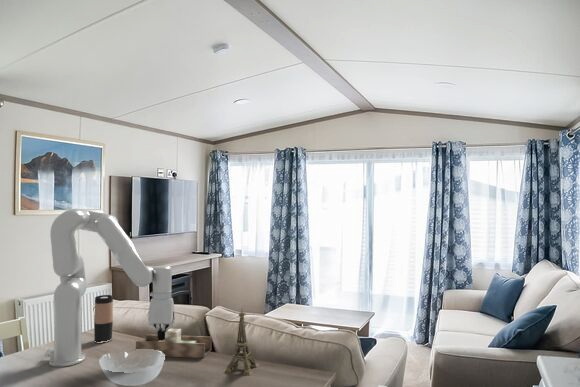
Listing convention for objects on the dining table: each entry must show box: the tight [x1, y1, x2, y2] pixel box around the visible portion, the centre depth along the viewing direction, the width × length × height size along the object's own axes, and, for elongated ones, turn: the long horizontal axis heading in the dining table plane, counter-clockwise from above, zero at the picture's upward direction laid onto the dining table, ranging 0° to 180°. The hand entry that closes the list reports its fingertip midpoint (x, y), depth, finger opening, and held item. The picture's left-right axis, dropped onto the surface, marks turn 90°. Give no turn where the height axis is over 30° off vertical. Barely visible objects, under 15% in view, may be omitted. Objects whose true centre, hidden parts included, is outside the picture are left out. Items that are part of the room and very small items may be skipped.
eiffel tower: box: [222, 309, 260, 376], centre depth 153 cm, size 11×11×25 cm
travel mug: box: [93, 294, 114, 342], centre depth 185 cm, size 8×8×20 cm
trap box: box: [135, 334, 212, 359], centre depth 170 cm, size 29×10×6 cm, turn 84°
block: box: [165, 328, 182, 342], centre depth 170 cm, size 5×5×5 cm
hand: (161, 339), depth 171 cm, fingers closed
